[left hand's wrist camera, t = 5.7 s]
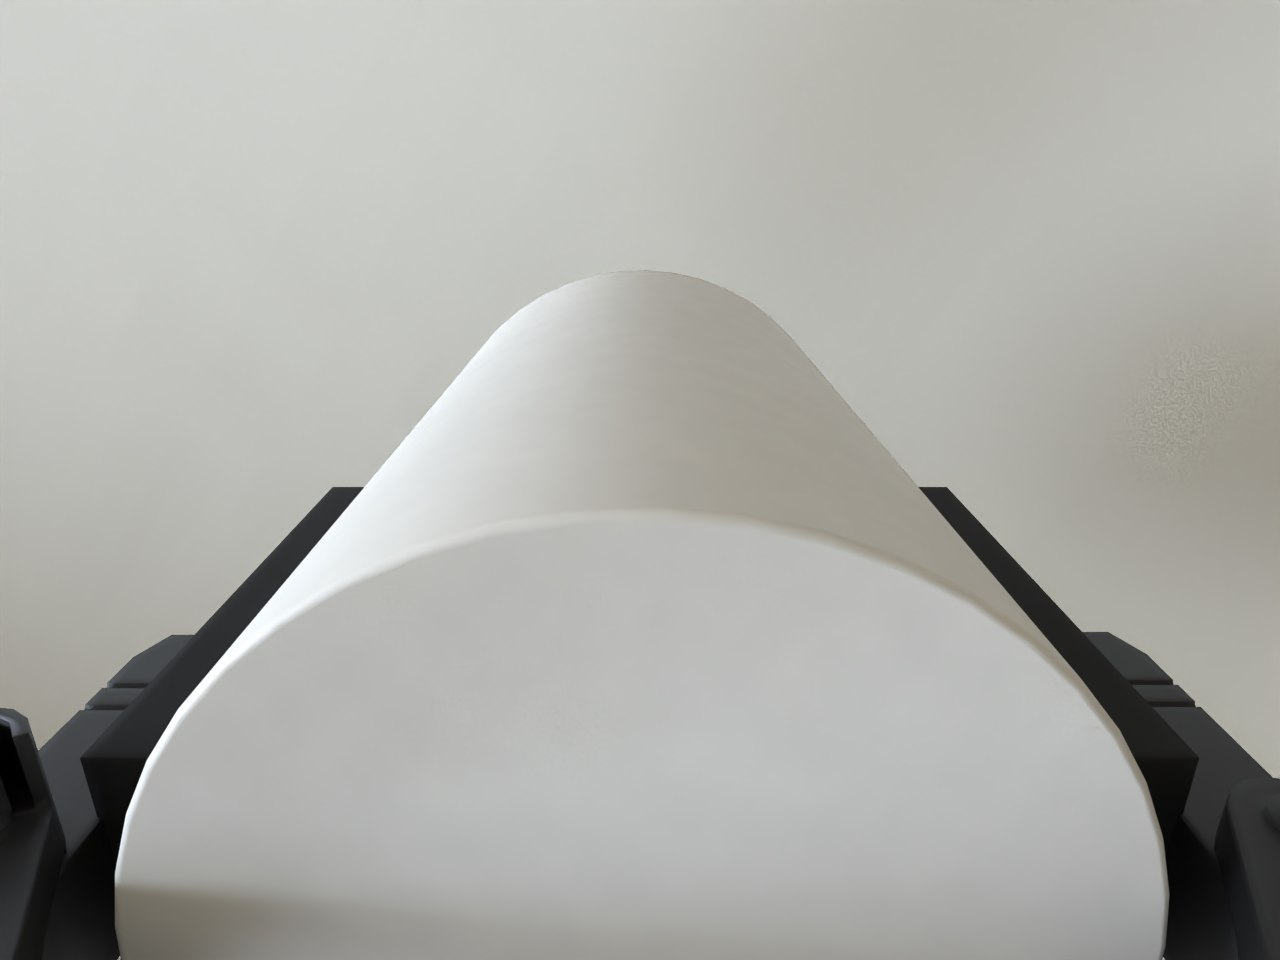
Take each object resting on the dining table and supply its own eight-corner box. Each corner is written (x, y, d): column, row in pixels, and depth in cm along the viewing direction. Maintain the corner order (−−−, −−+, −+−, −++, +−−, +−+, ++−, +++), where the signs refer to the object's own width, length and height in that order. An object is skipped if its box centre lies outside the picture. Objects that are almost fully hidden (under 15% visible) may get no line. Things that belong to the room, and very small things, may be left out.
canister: (878, 567, 19) (1236, 1178, 8) (540, 678, 20) (408, 1360, 9) (765, 205, 16) (1062, 312, 5) (378, 357, 17) (-131, 743, 6)
